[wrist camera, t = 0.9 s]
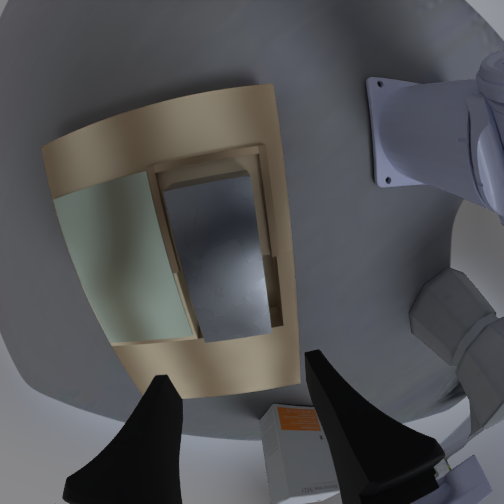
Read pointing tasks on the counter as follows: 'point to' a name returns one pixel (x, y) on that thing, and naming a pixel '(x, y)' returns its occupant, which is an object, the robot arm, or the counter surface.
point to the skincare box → (297, 456)
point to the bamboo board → (162, 240)
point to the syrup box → (442, 468)
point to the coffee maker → (464, 341)
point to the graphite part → (220, 254)
